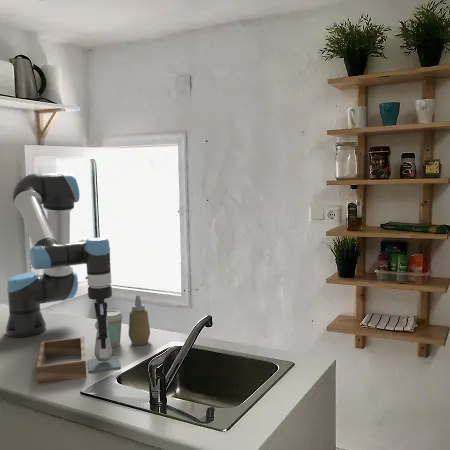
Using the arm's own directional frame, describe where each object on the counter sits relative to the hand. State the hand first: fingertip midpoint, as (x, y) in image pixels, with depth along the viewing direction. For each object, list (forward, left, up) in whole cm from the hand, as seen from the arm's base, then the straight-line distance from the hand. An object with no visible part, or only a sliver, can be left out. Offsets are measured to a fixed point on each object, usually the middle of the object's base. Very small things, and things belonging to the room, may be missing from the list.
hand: (103, 353), depth 166 cm
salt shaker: (0, 0, -2) cm, 2 cm away
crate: (-3, -13, -4) cm, 14 cm away
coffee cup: (-19, +4, -4) cm, 20 cm away
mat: (0, 0, -4) cm, 4 cm away
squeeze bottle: (-17, +14, -4) cm, 22 cm away
